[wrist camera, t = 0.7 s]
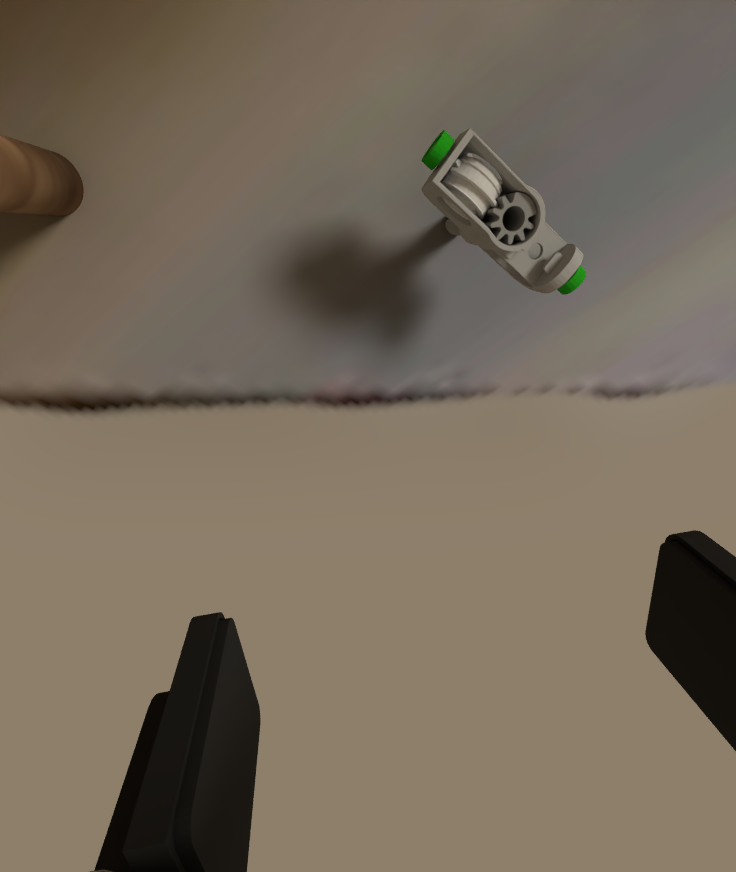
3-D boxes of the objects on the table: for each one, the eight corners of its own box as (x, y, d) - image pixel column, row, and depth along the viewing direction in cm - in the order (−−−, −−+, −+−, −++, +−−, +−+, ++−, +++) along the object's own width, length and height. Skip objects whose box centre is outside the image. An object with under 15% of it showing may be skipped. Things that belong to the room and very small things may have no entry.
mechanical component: (494, 287, 34) (563, 307, 25) (384, 189, 31) (417, 171, 22) (522, 252, 33) (603, 259, 24) (412, 148, 30) (459, 111, 21)
